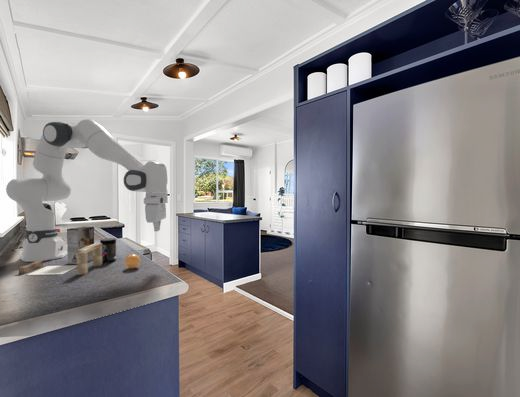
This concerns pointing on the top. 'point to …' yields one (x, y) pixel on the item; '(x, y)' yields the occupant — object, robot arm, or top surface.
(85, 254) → the bridge
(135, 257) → the ball
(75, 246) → the coffee box
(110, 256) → the supplement container
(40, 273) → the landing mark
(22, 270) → the stopper
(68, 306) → the top surface
